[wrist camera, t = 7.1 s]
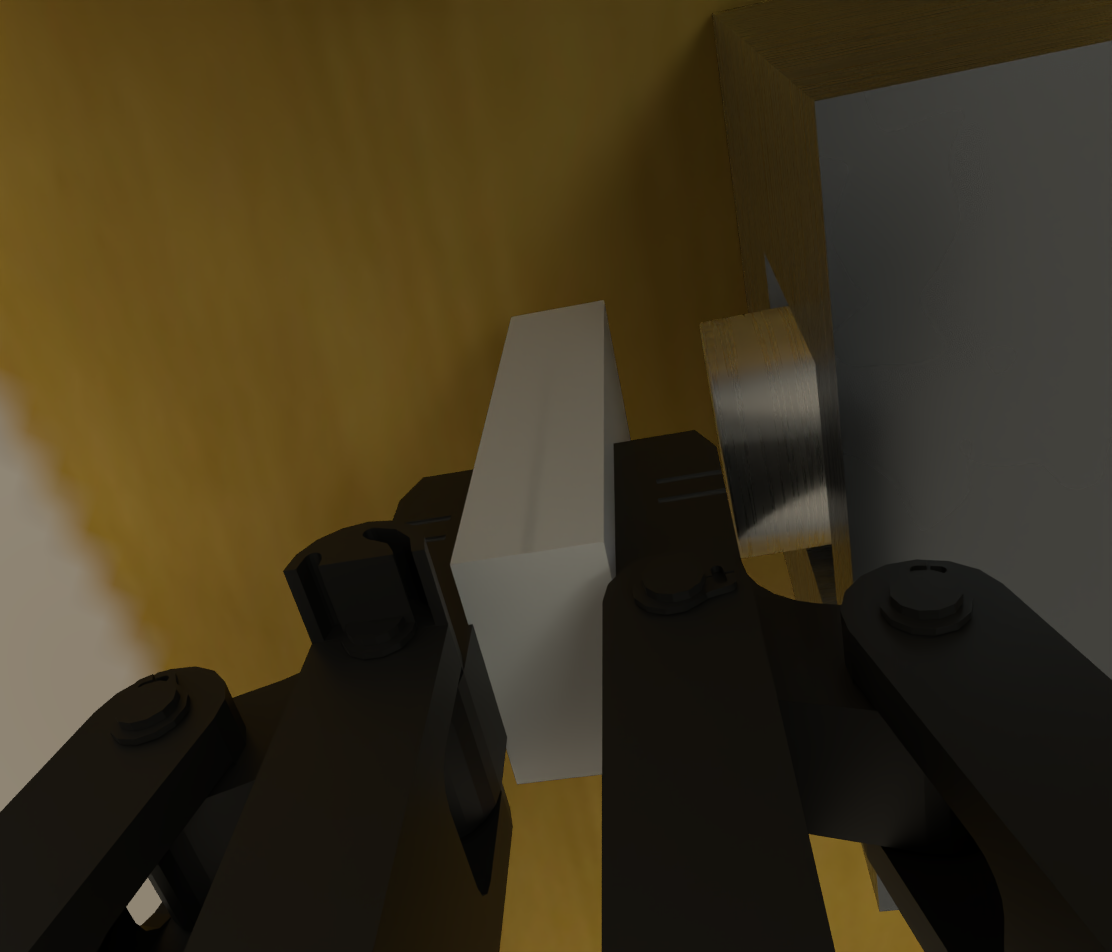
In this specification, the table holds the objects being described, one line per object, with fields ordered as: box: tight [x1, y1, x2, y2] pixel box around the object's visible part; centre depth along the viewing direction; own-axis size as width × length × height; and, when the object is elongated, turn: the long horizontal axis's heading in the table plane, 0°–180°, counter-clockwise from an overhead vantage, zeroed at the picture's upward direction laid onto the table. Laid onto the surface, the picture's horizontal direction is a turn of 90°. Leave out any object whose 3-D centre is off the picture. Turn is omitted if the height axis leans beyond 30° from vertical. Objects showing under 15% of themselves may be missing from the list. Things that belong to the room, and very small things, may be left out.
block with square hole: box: [712, 0, 1112, 911], centre depth 13 cm, size 9×8×9 cm
